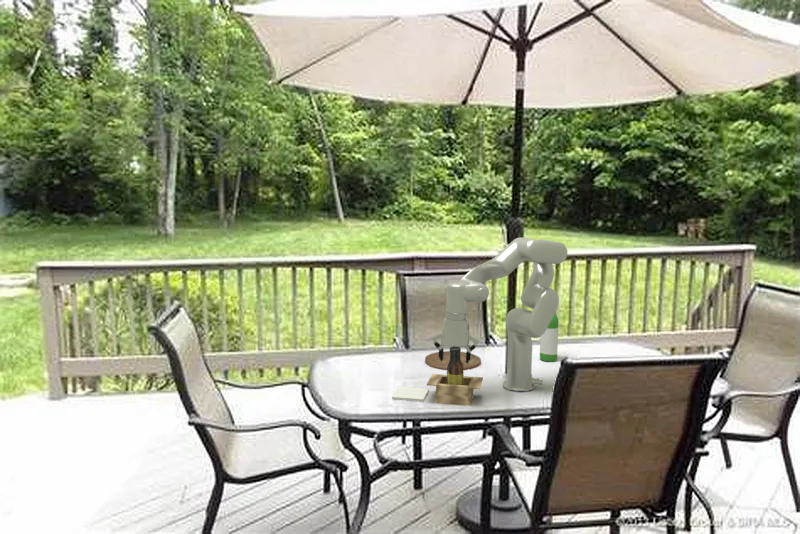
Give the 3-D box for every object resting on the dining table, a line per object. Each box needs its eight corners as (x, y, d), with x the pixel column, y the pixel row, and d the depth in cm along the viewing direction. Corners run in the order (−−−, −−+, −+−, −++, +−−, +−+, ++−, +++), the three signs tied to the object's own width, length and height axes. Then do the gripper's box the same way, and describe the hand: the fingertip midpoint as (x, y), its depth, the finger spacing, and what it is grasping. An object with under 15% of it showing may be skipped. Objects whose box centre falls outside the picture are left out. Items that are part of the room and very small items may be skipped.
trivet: (437, 352, 306) (437, 348, 305) (488, 359, 295) (488, 355, 294) (415, 366, 283) (416, 362, 283) (469, 374, 272) (469, 370, 272)
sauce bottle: (453, 394, 246) (453, 344, 244) (466, 398, 243) (467, 347, 240) (443, 399, 241) (443, 347, 239) (456, 403, 238) (457, 350, 235)
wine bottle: (540, 356, 298) (542, 293, 293) (557, 358, 295) (560, 294, 291) (538, 361, 290) (540, 296, 286) (556, 363, 288) (558, 297, 284)
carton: (482, 395, 246) (482, 377, 245) (479, 406, 234) (480, 388, 233) (432, 391, 250) (432, 373, 249) (426, 402, 238) (426, 384, 237)
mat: (428, 391, 250) (428, 388, 250) (423, 401, 239) (423, 399, 238) (398, 389, 253) (398, 386, 252) (391, 399, 241) (391, 396, 241)
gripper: (480, 315, 239) (478, 360, 242) (434, 312, 243) (433, 356, 245) (478, 319, 232) (476, 365, 234) (431, 316, 235) (429, 361, 238)
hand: (454, 361), depth 240 cm, fingers open, 9 cm apart
